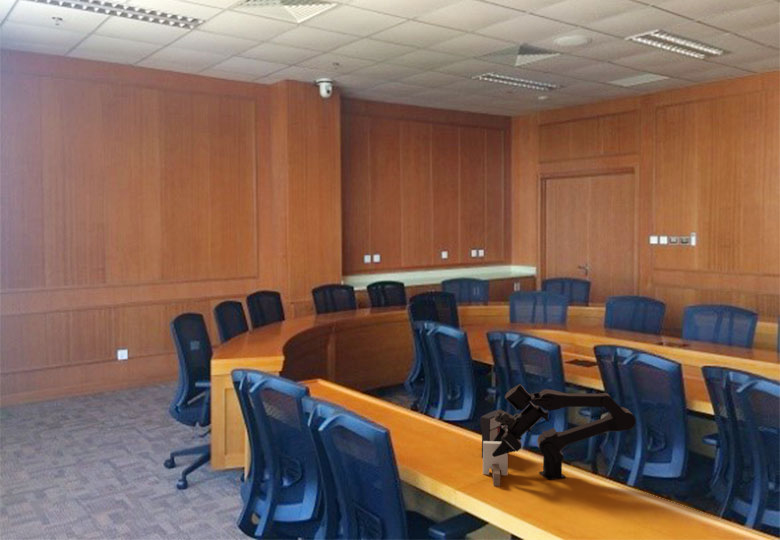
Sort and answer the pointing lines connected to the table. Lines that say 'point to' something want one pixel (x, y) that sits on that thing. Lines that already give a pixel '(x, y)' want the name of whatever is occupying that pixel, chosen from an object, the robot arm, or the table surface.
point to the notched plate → (493, 458)
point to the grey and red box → (489, 427)
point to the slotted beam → (496, 474)
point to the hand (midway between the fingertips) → (492, 451)
